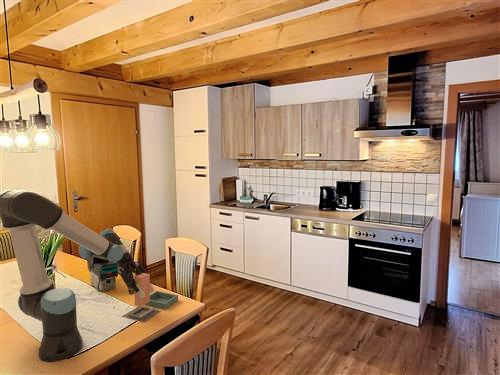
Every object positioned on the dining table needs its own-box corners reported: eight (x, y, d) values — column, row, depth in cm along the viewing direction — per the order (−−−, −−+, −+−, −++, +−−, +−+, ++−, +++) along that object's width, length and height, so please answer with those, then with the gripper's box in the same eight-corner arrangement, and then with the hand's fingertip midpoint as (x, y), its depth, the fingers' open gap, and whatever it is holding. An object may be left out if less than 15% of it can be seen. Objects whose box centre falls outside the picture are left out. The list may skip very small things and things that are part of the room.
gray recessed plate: (144, 324, 147) (144, 319, 146) (121, 318, 152) (121, 313, 152) (161, 313, 158) (161, 308, 157) (139, 307, 163) (139, 302, 163)
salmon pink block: (141, 306, 151) (140, 278, 150) (134, 305, 153) (134, 276, 152) (149, 301, 157) (149, 274, 156) (143, 300, 158) (143, 272, 157)
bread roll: (127, 297, 183) (121, 287, 179) (139, 284, 190) (134, 274, 187) (139, 301, 178) (134, 291, 174) (151, 287, 186) (146, 277, 182)
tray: (164, 311, 159) (164, 304, 159) (142, 306, 165) (142, 298, 164) (178, 302, 169) (178, 295, 169) (156, 297, 175) (156, 290, 174)
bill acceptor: (101, 295, 177) (99, 251, 175) (87, 283, 194) (85, 243, 191) (120, 289, 185) (118, 247, 182) (105, 278, 201) (104, 239, 198)
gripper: (131, 255, 168) (156, 291, 163) (102, 266, 150) (129, 306, 145) (139, 247, 165) (165, 282, 160) (110, 256, 148) (138, 297, 143)
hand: (148, 294), depth 153 cm, fingers closed on salmon pink block, 6 cm apart
